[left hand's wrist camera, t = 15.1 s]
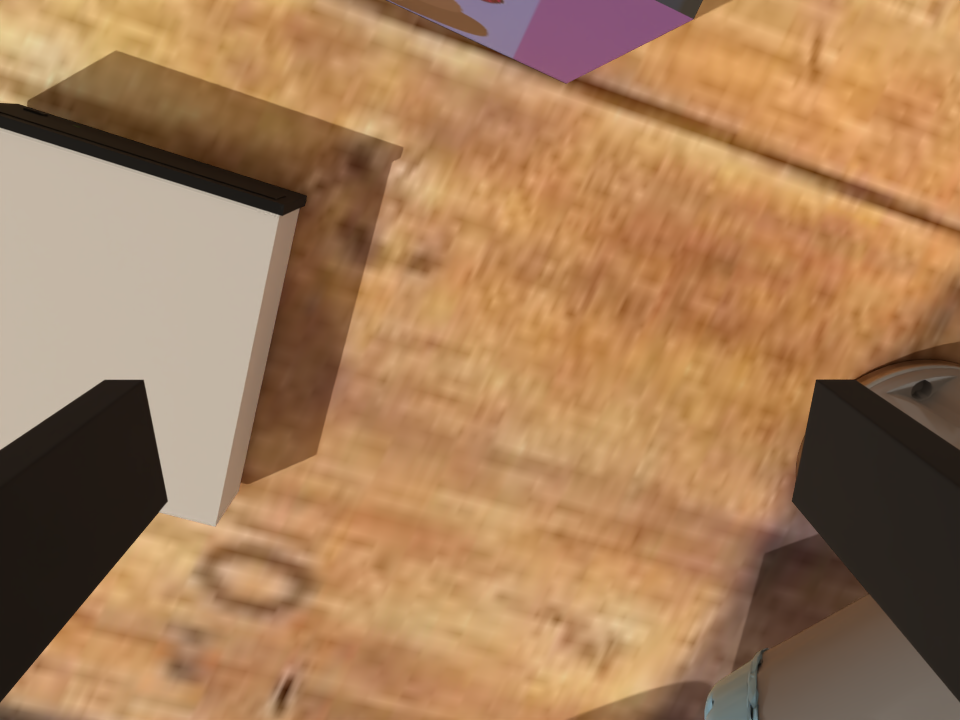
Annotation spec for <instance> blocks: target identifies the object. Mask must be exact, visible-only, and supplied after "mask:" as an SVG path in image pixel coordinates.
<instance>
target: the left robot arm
mask: <svg viewBox="0 0 960 720" xmlns="http://www.w3.org/2000/svg"><path fill="white" fill-rule="evenodd" d="M167 502H168V498H167V493H166V488H165V483H164V478H163V473H162V468H161V463H160V458H159V453H158V448H157V443H156V438H155V433H154V428H153V423H152V418H151V413H150V408H149V403H148V398H147V393H146V388H145V383H144V380H103V381H102V382H100V383H99V384H97V385H96V386H95V387H93V388H92V389H90V390H89V391H87V392H86V393H84V394H83V395H81V396H80V397H78V398H77V399H75V400H74V401H72V402H71V403H69V404H68V405H66V406H65V407H63V408H62V409H60V410H59V411H57V412H56V413H54V414H53V415H51V416H50V417H48V418H47V419H45V420H44V421H42V422H41V423H40V424H38V425H37V426H35V427H34V428H32V429H31V430H29V431H28V432H26V433H25V434H23V435H22V436H20V437H19V438H17V439H16V440H14V441H13V442H11V443H10V444H8V445H7V446H5V447H4V448H2V449H1V450H0V702H1V701H2V700H3V699H4V697H5V696H6V695H7V694H8V693H9V691H10V690H11V689H12V688H13V687H14V685H15V684H16V683H17V682H18V681H19V679H20V678H21V677H22V676H23V675H24V673H25V672H26V671H27V670H28V669H29V667H30V666H31V665H32V664H33V663H34V661H35V660H36V659H37V658H38V657H39V655H40V654H41V653H42V652H43V651H44V649H45V648H46V647H47V646H48V645H49V643H50V642H51V641H52V640H53V639H54V637H55V636H56V635H57V634H58V633H59V631H60V630H61V629H62V628H63V627H64V625H65V624H66V623H67V622H68V621H69V619H70V618H71V617H72V616H73V615H74V613H75V612H76V611H77V610H78V609H79V607H80V606H81V605H82V604H83V603H84V601H85V600H86V599H87V598H88V597H89V595H90V594H91V593H92V592H93V591H94V589H95V588H96V587H97V586H98V585H99V583H100V582H101V581H102V580H103V579H104V577H105V576H106V575H107V574H108V573H109V571H110V570H111V569H112V568H113V567H114V565H115V564H116V563H117V562H118V561H119V559H120V558H121V557H122V556H123V555H124V553H125V552H126V551H127V550H128V549H129V547H130V546H131V545H132V544H133V543H134V541H135V540H136V539H137V538H138V537H139V535H140V534H141V533H142V532H143V531H144V529H145V528H146V527H147V526H148V525H149V523H150V522H151V521H152V520H153V519H154V517H155V516H156V515H157V514H158V513H159V511H160V510H161V509H162V508H163V507H164V505H165V504H166V503H167ZM792 502H793V503H794V504H795V505H796V507H797V508H798V509H799V510H800V511H801V513H802V514H803V515H804V516H805V517H806V519H807V520H808V521H809V522H810V523H811V525H812V526H813V527H814V528H815V529H816V531H817V532H818V533H819V534H820V535H821V537H822V538H823V539H824V540H825V541H826V543H827V544H828V545H829V546H830V547H831V549H832V550H833V551H834V552H835V553H836V555H837V556H838V557H839V558H840V559H841V561H842V562H843V563H844V564H845V565H846V567H847V568H848V569H849V570H850V571H851V573H852V574H853V575H854V576H855V577H856V579H857V580H858V581H859V582H860V583H861V585H862V586H863V587H864V588H865V589H866V591H867V592H868V593H869V594H868V595H866V596H864V597H863V598H861V599H859V600H857V601H856V602H854V603H852V604H850V605H848V606H847V607H845V608H843V609H841V610H839V611H838V612H836V613H834V614H832V615H831V616H829V617H827V618H825V619H823V620H822V621H820V622H818V623H816V624H815V625H813V626H811V627H809V628H807V629H806V630H804V631H802V632H800V633H799V634H797V635H795V636H793V637H791V638H790V639H788V640H786V641H784V642H782V643H780V644H778V645H776V646H775V647H773V648H771V649H768V648H765V649H762V650H760V651H759V652H757V653H756V654H755V656H754V658H753V659H752V660H751V661H749V662H748V663H746V664H744V665H743V666H741V667H740V668H738V669H737V670H735V671H734V672H732V673H731V674H729V675H728V676H726V677H725V678H723V679H721V680H720V681H719V682H717V683H716V684H715V685H714V687H713V688H712V689H711V691H710V693H709V695H708V697H707V701H706V706H705V711H704V714H705V720H960V364H957V363H953V362H948V361H943V360H912V361H906V362H901V363H896V364H893V365H889V366H886V367H883V368H880V369H878V370H875V371H873V372H871V373H869V374H867V375H865V376H863V377H861V378H859V379H857V380H816V383H815V388H814V393H813V398H812V403H811V408H810V413H809V418H808V423H807V428H806V433H805V436H804V438H803V441H802V443H801V446H800V449H799V453H798V457H797V463H796V483H795V488H794V493H793V498H792Z"/></svg>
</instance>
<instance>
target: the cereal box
mask: <svg viewBox="0 0 960 720" xmlns="http://www.w3.org/2000/svg"><path fill="white" fill-rule="evenodd" d="M386 1H389V2H391V3H393V4H395V5H397V6H399V7H402V8H404V9H406V10H408V11H410V12H412V13H415V14H417V15H419V16H421V17H423V18H425V19H428V20H430V21H432V22H434V23H436V24H438V25H440V26H443V27H445V28H447V29H449V30H451V31H453V32H456V33H458V34H460V35H462V36H464V37H466V38H469V39H471V40H473V41H475V42H477V43H479V44H481V45H484V46H486V47H488V48H490V49H492V50H494V51H497V52H499V53H501V54H503V55H505V56H507V57H510V58H512V59H514V60H516V61H518V62H520V63H523V64H525V65H527V66H529V67H531V68H533V69H535V70H538V71H540V72H542V73H544V74H546V75H548V76H551V77H553V78H555V79H557V80H559V81H561V82H564V83H568V82H570V81H572V80H574V79H576V78H578V77H580V76H582V75H584V74H586V73H588V72H590V71H592V70H594V69H596V68H598V67H600V66H602V65H604V64H606V63H608V62H610V61H612V60H614V59H616V58H618V57H620V56H622V55H624V54H626V53H628V52H629V51H631V50H633V49H635V48H637V47H639V46H641V45H643V44H645V43H647V42H649V41H651V40H653V39H655V38H657V37H659V36H661V35H663V34H665V33H667V32H669V31H671V30H673V29H675V28H677V27H679V26H681V25H683V24H685V23H687V22H689V21H691V20H693V19H694V17H695V15H696V13H697V11H698V9H699V7H700V5H701V3H702V1H703V0H386Z"/></svg>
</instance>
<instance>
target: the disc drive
mask: <svg viewBox="0 0 960 720" xmlns="http://www.w3.org/2000/svg"><path fill="white" fill-rule="evenodd" d="M306 198H307V196H306V195H303V194H299V193H296V192H293V191H290V190H287V189H284V188H281V187H277V186H274V185H271V184H268V183H265V182H262V181H258V180H255V179H252V178H249V177H246V176H243V175H240V174H236V173H233V172H230V171H227V170H224V169H221V168H218V167H214V166H211V165H208V164H205V163H202V162H199V161H196V160H192V159H189V158H186V157H183V156H180V155H177V154H174V153H170V152H167V151H164V150H161V149H158V148H155V147H152V146H148V145H145V144H142V143H139V142H136V141H133V140H130V139H126V138H123V137H120V136H117V135H114V134H111V133H108V132H104V131H101V130H98V129H95V128H92V127H89V126H86V125H82V124H79V123H76V122H73V121H70V120H67V119H64V118H60V117H57V116H54V115H51V114H48V113H45V112H42V111H38V110H35V109H32V108H29V107H26V106H23V105H20V104H9V103H0V450H1V449H2V448H4V447H5V446H7V445H8V444H10V443H11V442H13V441H14V440H16V439H17V438H19V437H20V436H22V435H23V434H25V433H26V432H28V431H29V430H31V429H32V428H34V427H35V426H37V425H38V424H40V423H41V422H42V421H44V420H45V419H47V418H48V417H50V416H51V415H53V414H54V413H56V412H57V411H59V410H60V409H62V408H63V407H65V406H66V405H68V404H69V403H71V402H72V401H74V400H75V399H77V398H78V397H80V396H81V395H83V394H84V393H86V392H87V391H89V390H90V389H92V388H93V387H95V386H96V385H97V384H99V383H100V382H102V381H103V380H144V383H145V388H146V393H147V398H148V403H149V408H150V413H151V418H152V423H153V428H154V433H155V438H156V443H157V448H158V453H159V458H160V463H161V468H162V473H163V478H164V483H165V488H166V493H167V498H168V502H167V503H166V504H165V505H164V507H163V508H162V509H161V510H160V511H159V512H160V513H164V514H168V515H172V516H176V517H179V518H183V519H187V520H191V521H195V522H199V523H203V524H207V525H211V526H215V527H216V525H217V523H218V522H219V520H220V519H221V517H222V516H223V514H224V513H225V511H226V510H227V508H228V507H229V505H230V504H231V502H232V500H233V499H234V497H235V496H236V494H237V493H238V491H239V487H240V482H241V478H242V473H243V469H244V464H245V459H246V455H247V450H248V445H249V441H250V436H251V432H252V427H253V422H254V418H255V413H256V408H257V404H258V399H259V395H260V390H261V385H262V381H263V376H264V371H265V367H266V362H267V358H268V353H269V348H270V344H271V339H272V334H273V330H274V325H275V321H276V316H277V311H278V307H279V302H280V297H281V293H282V288H283V284H284V279H285V274H286V270H287V265H288V260H289V256H290V251H291V246H292V242H293V237H294V233H295V228H296V223H297V219H298V214H299V209H300V208H301V207H303V206H305V203H306Z"/></svg>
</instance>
